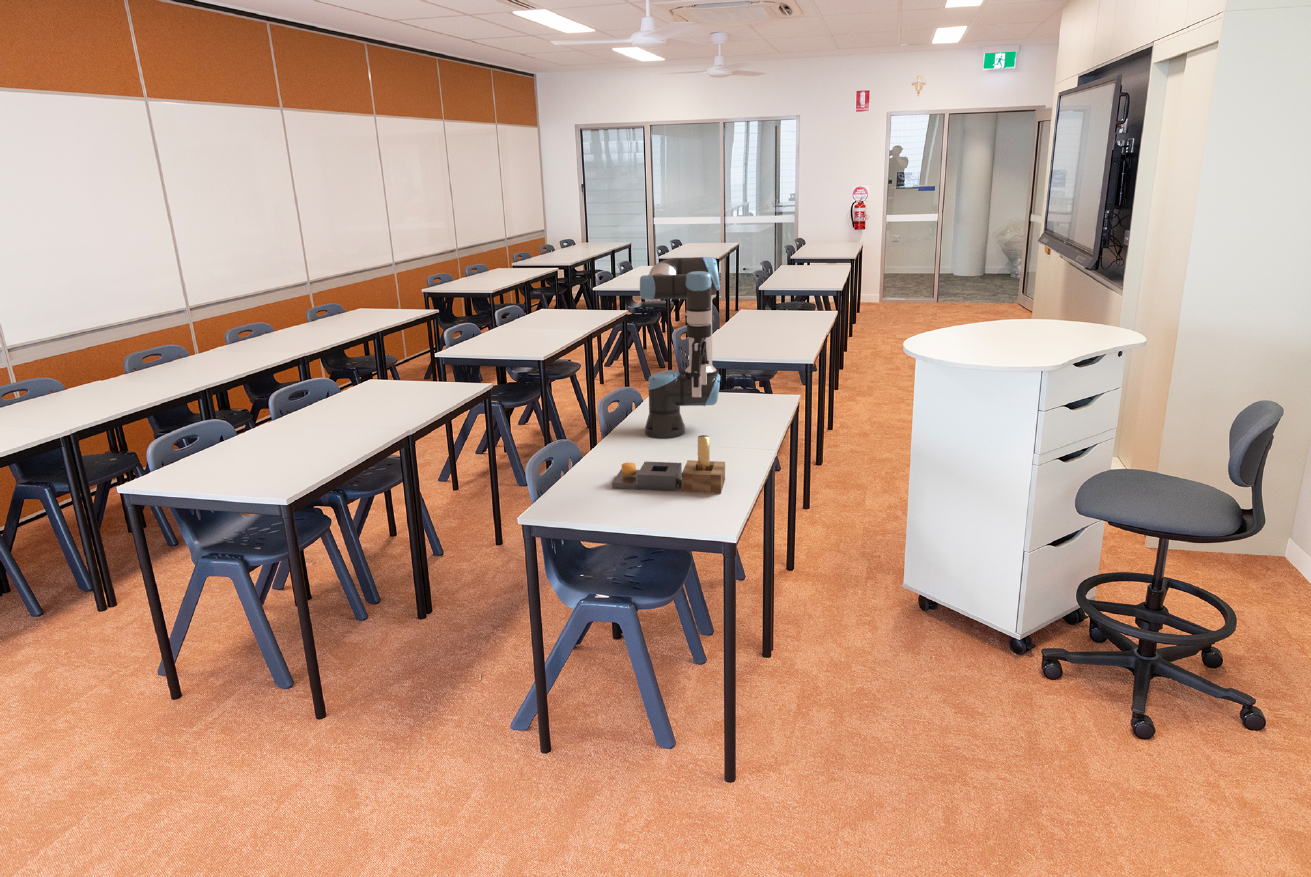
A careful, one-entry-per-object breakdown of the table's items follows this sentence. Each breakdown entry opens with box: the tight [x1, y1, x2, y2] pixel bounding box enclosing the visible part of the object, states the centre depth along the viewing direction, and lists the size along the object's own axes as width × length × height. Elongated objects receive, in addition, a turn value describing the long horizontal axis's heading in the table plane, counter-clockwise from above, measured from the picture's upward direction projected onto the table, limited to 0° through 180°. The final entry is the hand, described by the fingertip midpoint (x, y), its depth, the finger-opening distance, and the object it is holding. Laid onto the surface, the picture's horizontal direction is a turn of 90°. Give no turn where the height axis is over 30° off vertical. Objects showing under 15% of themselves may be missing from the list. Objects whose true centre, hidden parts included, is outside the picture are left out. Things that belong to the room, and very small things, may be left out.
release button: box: [621, 461, 637, 476], centre depth 252 cm, size 4×4×3 cm
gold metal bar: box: [697, 434, 711, 471], centre depth 246 cm, size 4×4×16 cm
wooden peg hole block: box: [681, 459, 726, 495], centre depth 247 cm, size 12×12×6 cm
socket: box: [611, 461, 683, 492], centre depth 251 cm, size 12×20×5 cm, turn 79°
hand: (699, 390), depth 249 cm, fingers open, 13 cm apart
